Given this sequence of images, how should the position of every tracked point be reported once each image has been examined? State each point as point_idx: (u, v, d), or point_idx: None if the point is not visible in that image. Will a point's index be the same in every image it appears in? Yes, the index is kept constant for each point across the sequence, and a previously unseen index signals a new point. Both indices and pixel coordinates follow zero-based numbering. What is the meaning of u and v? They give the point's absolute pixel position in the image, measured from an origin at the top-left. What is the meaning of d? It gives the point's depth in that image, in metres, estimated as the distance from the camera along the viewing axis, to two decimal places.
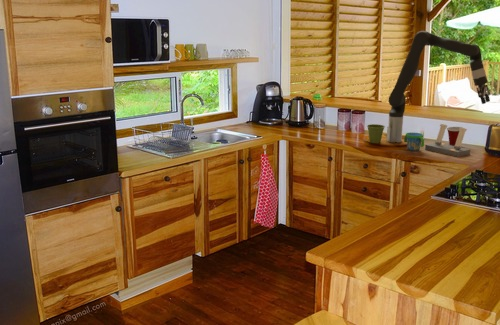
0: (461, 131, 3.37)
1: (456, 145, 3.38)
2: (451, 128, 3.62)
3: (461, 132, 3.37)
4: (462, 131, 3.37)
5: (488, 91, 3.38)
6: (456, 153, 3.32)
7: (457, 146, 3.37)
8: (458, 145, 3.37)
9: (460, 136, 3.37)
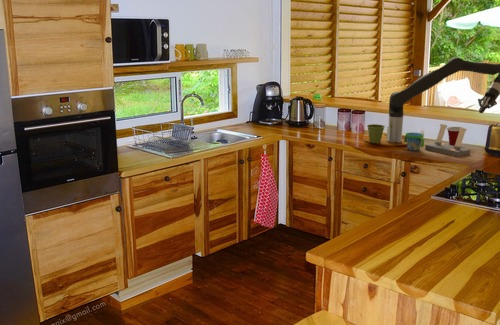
0: (461, 131, 3.37)
1: (456, 145, 3.38)
2: (451, 128, 3.62)
3: (461, 132, 3.37)
4: (462, 131, 3.37)
5: (482, 105, 3.48)
6: (456, 153, 3.32)
7: (457, 146, 3.37)
8: (458, 145, 3.37)
9: (460, 136, 3.37)
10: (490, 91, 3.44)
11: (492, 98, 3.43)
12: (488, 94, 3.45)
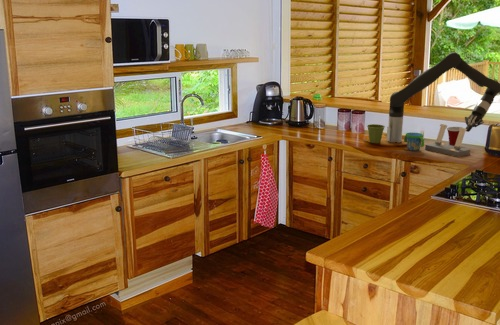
0: (461, 131, 3.37)
1: (456, 145, 3.38)
2: (451, 128, 3.62)
3: (461, 132, 3.37)
4: (462, 131, 3.37)
5: None
6: (456, 153, 3.32)
7: (457, 146, 3.37)
8: (458, 145, 3.37)
9: (460, 136, 3.37)
10: (477, 109, 3.40)
11: (479, 117, 3.39)
12: (475, 112, 3.42)
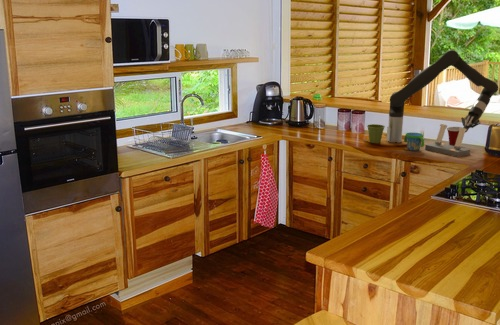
0: (461, 131, 3.37)
1: (456, 145, 3.38)
2: (451, 128, 3.62)
3: (461, 132, 3.37)
4: (462, 131, 3.37)
5: None
6: (456, 153, 3.32)
7: (457, 146, 3.37)
8: (458, 145, 3.37)
9: (460, 136, 3.37)
10: (473, 110, 3.39)
11: (475, 117, 3.38)
12: (471, 113, 3.40)
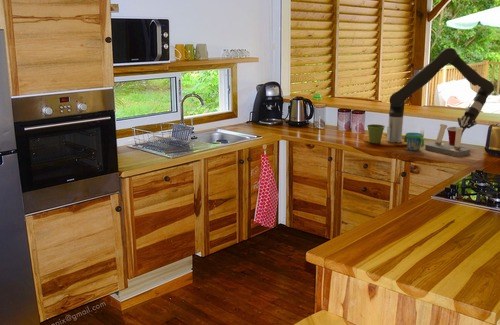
0: (458, 131, 3.35)
1: (456, 145, 3.38)
2: (451, 128, 3.62)
3: (458, 132, 3.35)
4: (459, 131, 3.35)
5: None
6: (456, 153, 3.32)
7: (457, 146, 3.37)
8: (458, 145, 3.37)
9: (458, 136, 3.36)
10: (470, 110, 3.37)
11: (472, 118, 3.36)
12: (468, 113, 3.38)
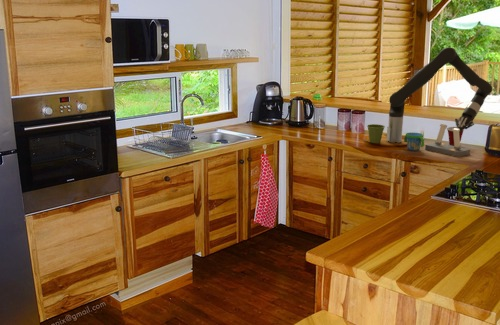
0: (455, 132, 3.34)
1: (455, 146, 3.38)
2: (451, 128, 3.62)
3: (455, 133, 3.34)
4: (456, 132, 3.33)
5: None
6: (456, 153, 3.32)
7: (457, 147, 3.37)
8: (457, 146, 3.37)
9: (456, 137, 3.35)
10: (467, 111, 3.35)
11: (469, 118, 3.34)
12: (465, 114, 3.37)
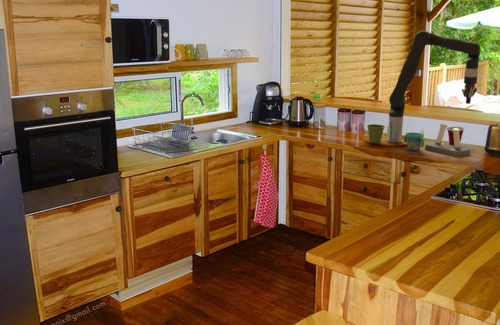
0: (455, 132, 3.34)
1: (455, 146, 3.38)
2: (451, 128, 3.62)
3: (455, 133, 3.34)
4: (456, 132, 3.33)
5: (473, 93, 3.46)
6: (456, 153, 3.32)
7: (457, 147, 3.37)
8: (457, 146, 3.37)
9: (456, 137, 3.35)
10: None
11: None
12: None
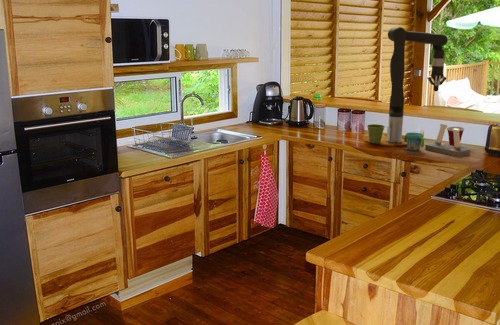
0: (455, 132, 3.34)
1: (455, 146, 3.38)
2: (451, 128, 3.62)
3: (455, 133, 3.34)
4: (456, 132, 3.33)
5: None
6: (456, 153, 3.32)
7: (457, 147, 3.37)
8: (457, 146, 3.37)
9: (456, 137, 3.35)
10: (440, 70, 3.65)
11: (441, 75, 3.69)
12: (438, 72, 3.67)
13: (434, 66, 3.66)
